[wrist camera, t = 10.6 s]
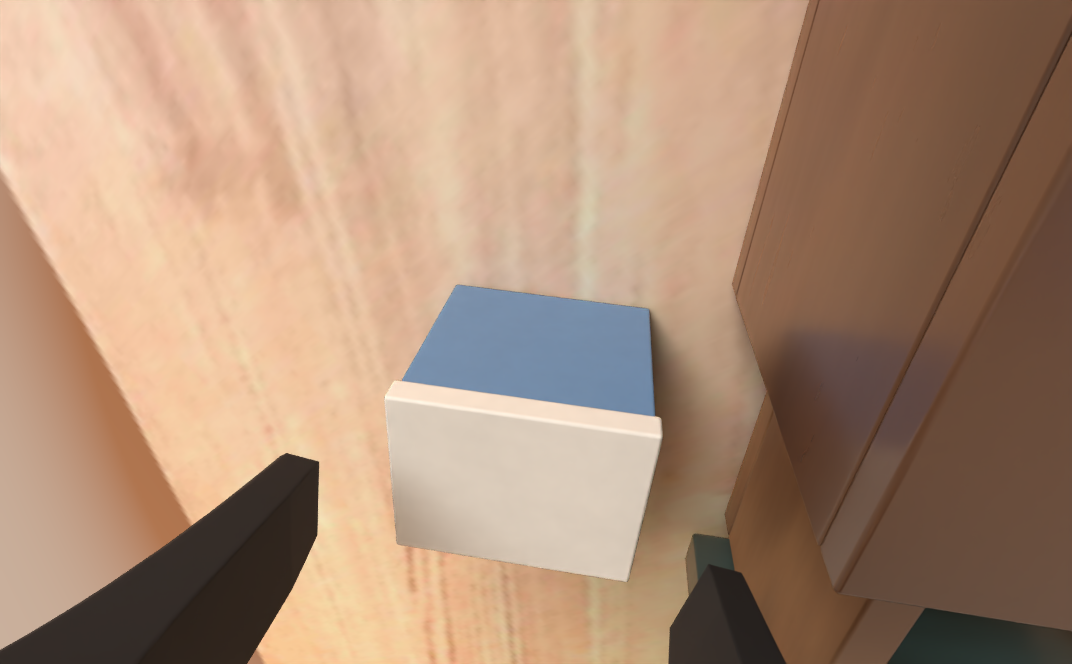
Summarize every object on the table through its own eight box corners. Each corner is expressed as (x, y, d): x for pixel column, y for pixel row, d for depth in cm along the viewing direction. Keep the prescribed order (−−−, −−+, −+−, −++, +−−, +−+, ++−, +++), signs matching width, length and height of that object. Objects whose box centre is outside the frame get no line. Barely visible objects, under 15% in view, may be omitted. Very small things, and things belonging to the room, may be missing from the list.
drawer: (961, 699, 20) (1095, 990, 14) (657, 646, 21) (667, 901, 15) (1383, 208, 11) (2228, 467, 5) (811, 150, 12) (985, 317, 6)
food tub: (629, 432, 17) (628, 583, 13) (453, 407, 17) (395, 546, 13) (654, 305, 15) (664, 437, 10) (451, 279, 15) (382, 396, 11)
